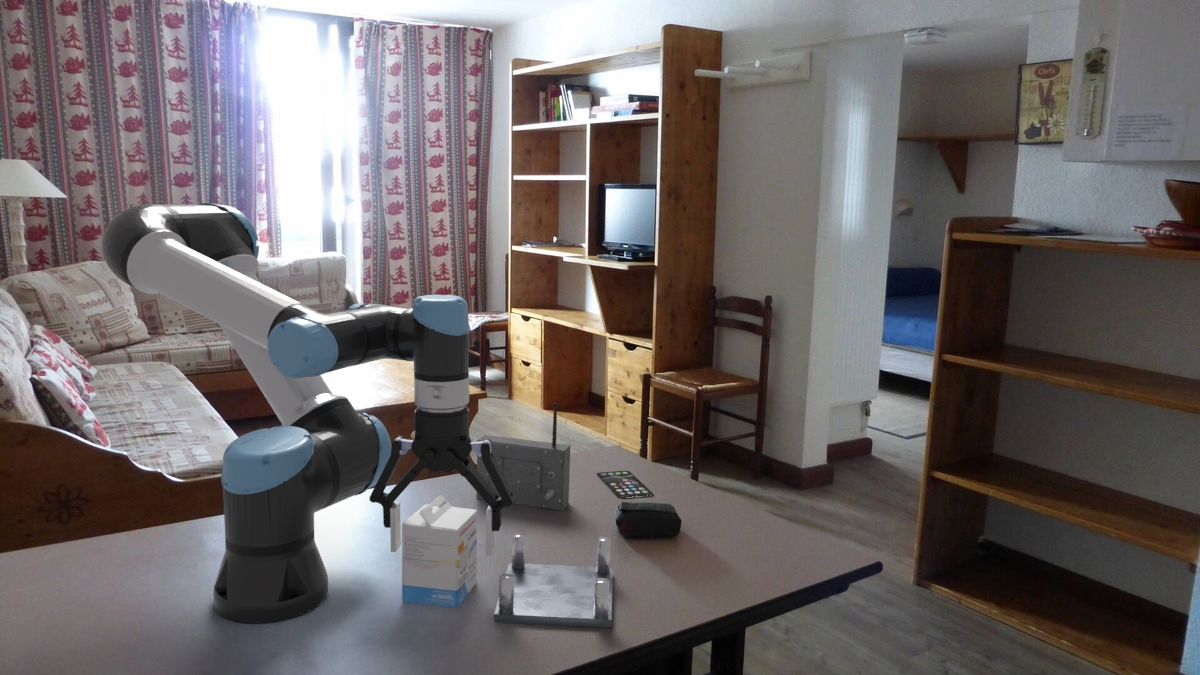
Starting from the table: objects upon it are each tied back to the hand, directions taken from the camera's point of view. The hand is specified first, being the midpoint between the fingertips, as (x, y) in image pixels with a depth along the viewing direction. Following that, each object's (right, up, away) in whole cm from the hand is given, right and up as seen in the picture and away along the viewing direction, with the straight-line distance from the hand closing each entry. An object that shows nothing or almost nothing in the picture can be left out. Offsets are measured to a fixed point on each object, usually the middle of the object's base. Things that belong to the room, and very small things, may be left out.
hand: (442, 549), depth 124 cm
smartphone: (+27, 0, +49) cm, 56 cm away
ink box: (-1, -7, +1) cm, 7 cm away
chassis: (+16, -7, +1) cm, 18 cm away
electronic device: (+7, -1, +37) cm, 38 cm away
